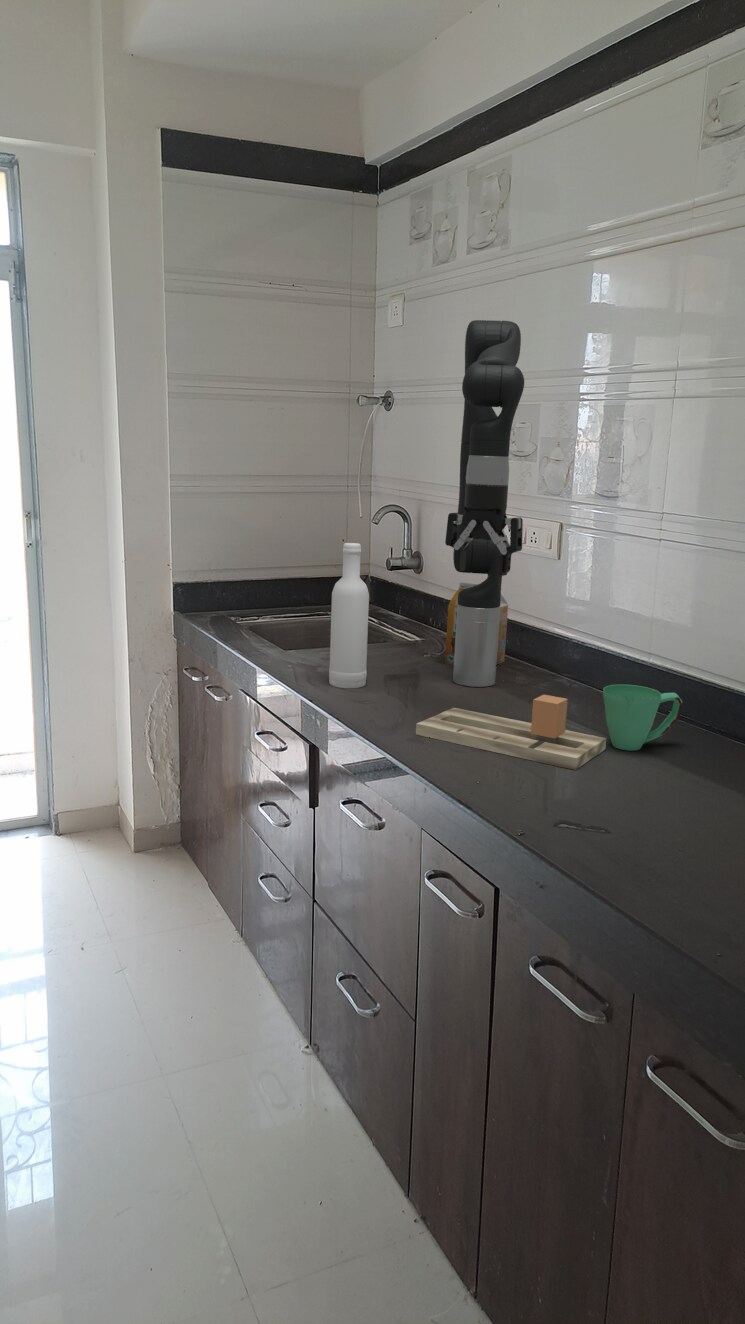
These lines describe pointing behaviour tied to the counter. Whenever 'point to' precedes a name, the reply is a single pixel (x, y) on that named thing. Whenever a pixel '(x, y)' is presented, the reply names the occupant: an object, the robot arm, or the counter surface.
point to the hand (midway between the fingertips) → (481, 572)
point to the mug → (636, 714)
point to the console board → (510, 738)
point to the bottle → (349, 624)
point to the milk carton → (453, 619)
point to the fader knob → (549, 718)
